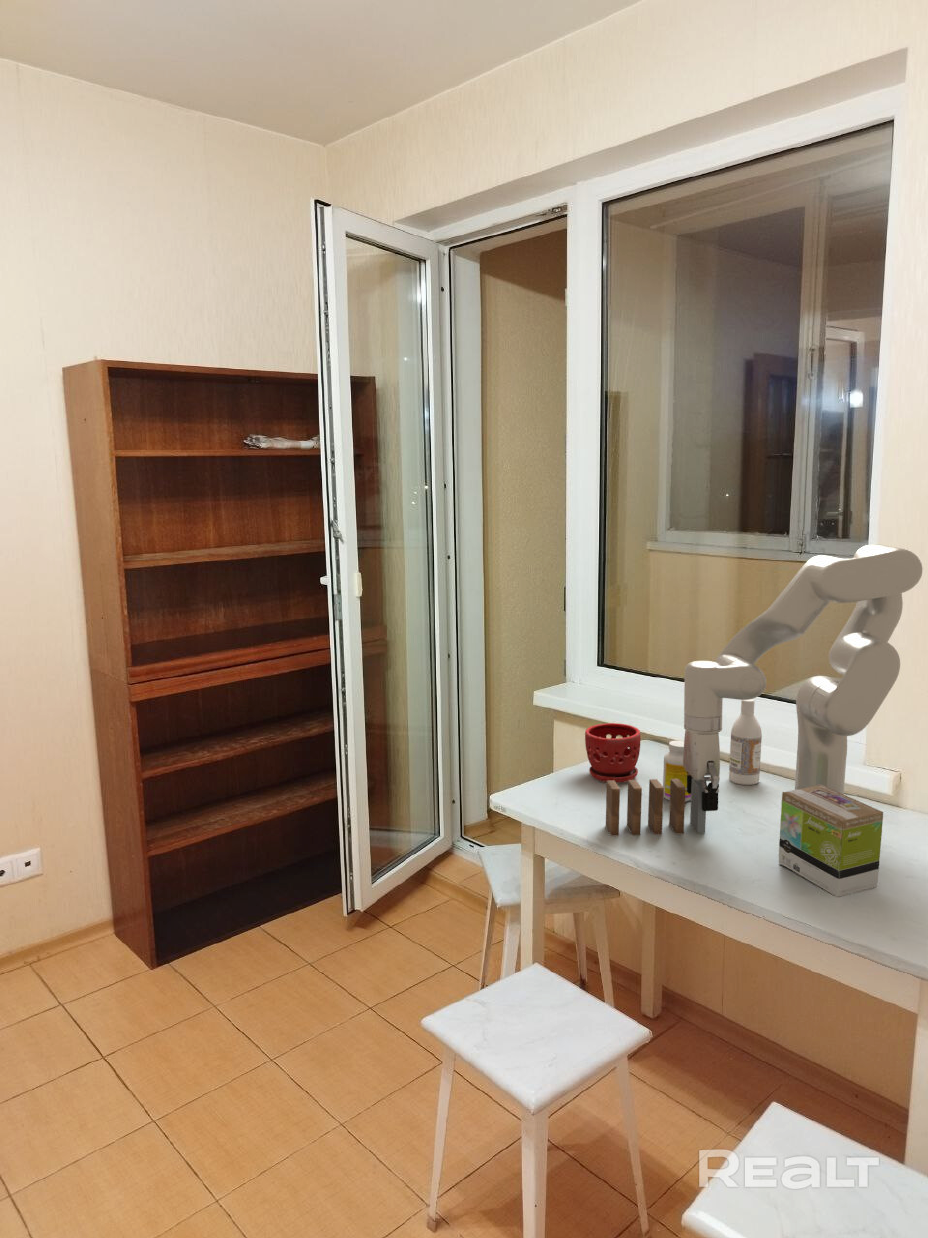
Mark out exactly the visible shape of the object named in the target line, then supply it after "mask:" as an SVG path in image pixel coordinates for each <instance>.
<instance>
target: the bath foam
mask: <svg viewBox="0 0 928 1238" xmlns="http://www.w3.org/2000/svg"><path fill="white" fill-rule="evenodd" d="M740 701H741V704H740V706H741V707H740V714H739V716H737V718H736V720H735V721H734V723H733V724H732V728H731V731H730V745H729V767H728V768H729V769H728V771H729V772H728V779H729V780H730V781H731V782H732V783H734V784H737V785H742V786H751V785H757V784H758V783H759V782H760V772H761V757H762V755H761V754H762V752H761V751H762V737H763V735H762V728H761V725H760V722H759V721H758V720H757V718H756V716H755V715H754V714H755V699H750V700H740Z"/></svg>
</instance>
